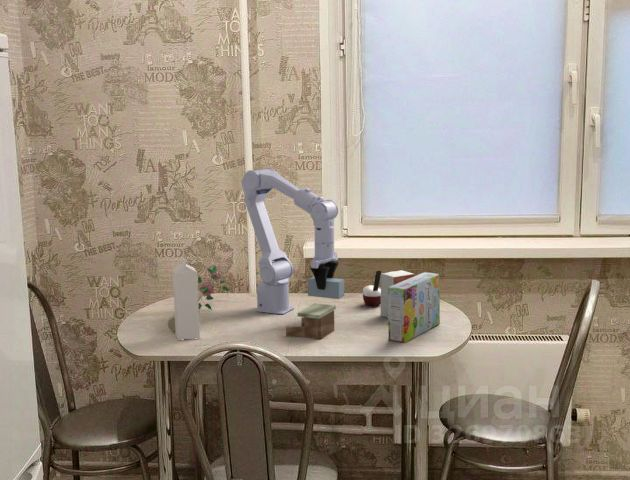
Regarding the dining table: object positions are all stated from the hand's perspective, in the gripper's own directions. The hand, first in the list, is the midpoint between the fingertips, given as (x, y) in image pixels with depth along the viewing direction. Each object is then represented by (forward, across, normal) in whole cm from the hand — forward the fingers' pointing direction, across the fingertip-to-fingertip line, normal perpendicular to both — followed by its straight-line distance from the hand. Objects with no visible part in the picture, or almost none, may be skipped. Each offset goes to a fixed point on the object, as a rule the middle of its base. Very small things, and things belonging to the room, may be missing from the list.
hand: (324, 287), depth 233 cm
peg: (+2, 0, 0) cm, 3 cm away
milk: (+10, -30, +28) cm, 43 cm away
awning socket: (+10, -14, -2) cm, 17 cm away
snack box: (+10, -2, -28) cm, 30 cm away
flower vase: (+10, -12, +38) cm, 41 cm away
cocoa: (+10, +20, -8) cm, 24 cm away
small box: (+10, +12, -18) cm, 24 cm away
